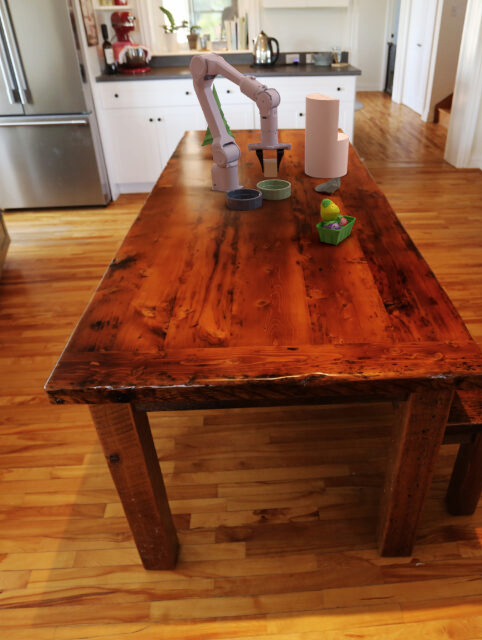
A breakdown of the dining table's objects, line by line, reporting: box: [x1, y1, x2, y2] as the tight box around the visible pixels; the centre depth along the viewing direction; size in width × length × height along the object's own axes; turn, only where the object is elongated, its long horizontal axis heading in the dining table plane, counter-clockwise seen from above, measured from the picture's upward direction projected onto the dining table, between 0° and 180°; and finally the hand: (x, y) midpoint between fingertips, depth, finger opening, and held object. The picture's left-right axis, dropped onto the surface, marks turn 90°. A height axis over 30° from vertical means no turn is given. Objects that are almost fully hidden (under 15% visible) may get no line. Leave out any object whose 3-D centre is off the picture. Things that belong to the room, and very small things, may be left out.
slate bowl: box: [225, 187, 263, 211], centre depth 166 cm, size 12×12×4 cm
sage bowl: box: [256, 179, 292, 201], centre depth 174 cm, size 12×12×4 cm
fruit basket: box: [316, 198, 356, 246], centre depth 140 cm, size 11×9×11 cm
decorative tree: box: [201, 82, 236, 147], centre depth 210 cm, size 14×16×30 cm
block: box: [263, 158, 278, 178], centre depth 168 cm, size 4×4×5 cm
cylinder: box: [304, 92, 350, 179], centre depth 191 cm, size 17×17×28 cm
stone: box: [314, 177, 341, 195], centre depth 177 cm, size 11×4×10 cm
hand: (270, 171), depth 169 cm, fingers closed on block, 4 cm apart
